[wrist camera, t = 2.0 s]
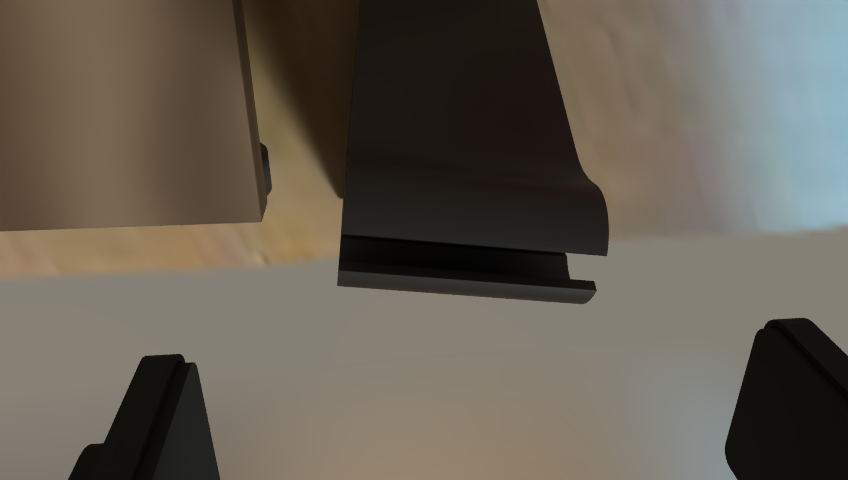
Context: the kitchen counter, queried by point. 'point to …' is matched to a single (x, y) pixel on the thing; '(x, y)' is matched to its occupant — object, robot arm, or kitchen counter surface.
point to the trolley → (127, 115)
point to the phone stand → (463, 157)
